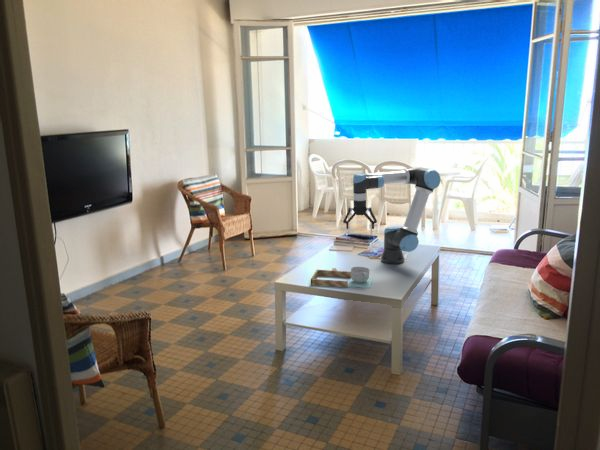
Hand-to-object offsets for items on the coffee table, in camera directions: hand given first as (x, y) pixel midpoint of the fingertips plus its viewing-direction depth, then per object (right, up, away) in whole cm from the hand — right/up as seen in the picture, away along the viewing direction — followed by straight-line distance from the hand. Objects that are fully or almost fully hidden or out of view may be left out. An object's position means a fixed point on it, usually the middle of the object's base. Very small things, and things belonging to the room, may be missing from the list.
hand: (360, 234), depth 321 cm
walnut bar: (-15, -24, +6) cm, 29 cm away
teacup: (-1, -28, -13) cm, 31 cm away
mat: (-2, -28, -13) cm, 31 cm away
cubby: (-18, -28, -9) cm, 34 cm away
